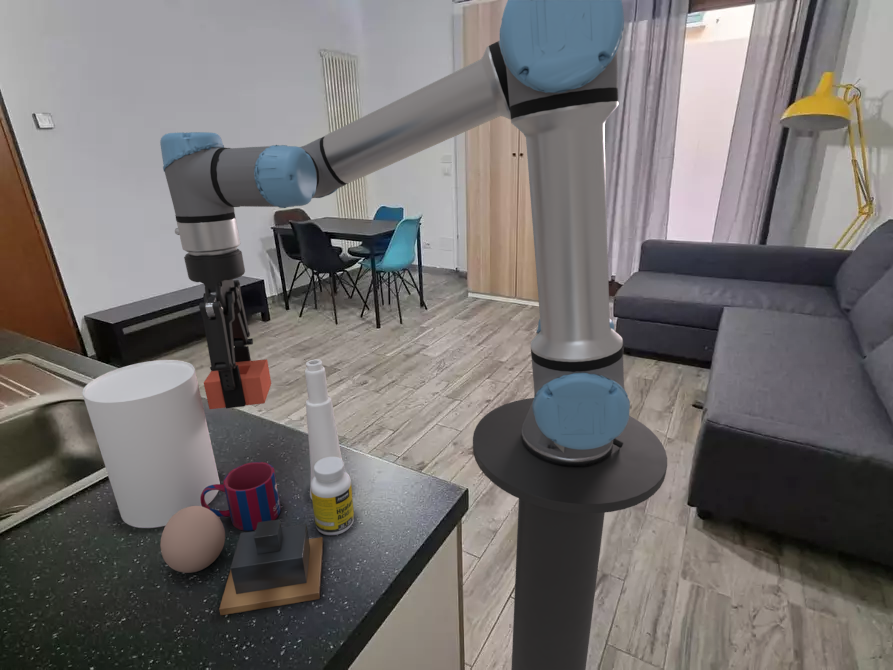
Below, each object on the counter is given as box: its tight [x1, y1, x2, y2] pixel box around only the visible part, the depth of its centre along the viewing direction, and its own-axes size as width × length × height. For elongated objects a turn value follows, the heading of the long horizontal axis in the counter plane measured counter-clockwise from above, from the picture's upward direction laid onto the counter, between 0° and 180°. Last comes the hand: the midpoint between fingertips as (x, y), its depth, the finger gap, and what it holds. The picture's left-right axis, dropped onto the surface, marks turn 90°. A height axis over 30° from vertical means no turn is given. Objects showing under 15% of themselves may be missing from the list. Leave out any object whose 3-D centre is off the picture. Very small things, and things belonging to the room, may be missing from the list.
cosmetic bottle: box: [304, 358, 343, 500], centre depth 71 cm, size 6×6×22 cm
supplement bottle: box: [310, 457, 355, 536], centre depth 67 cm, size 5×5×10 cm
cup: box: [200, 461, 282, 532], centre depth 69 cm, size 7×10×7 cm
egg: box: [159, 506, 226, 574], centre depth 61 cm, size 7×7×8 cm
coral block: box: [203, 358, 272, 410], centre depth 76 cm, size 8×7×4 cm
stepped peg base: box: [218, 518, 324, 616], centre depth 59 cm, size 11×9×8 cm
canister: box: [81, 359, 221, 529], centre depth 71 cm, size 14×14×20 cm
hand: (241, 394), depth 77 cm, fingers closed on coral block, 7 cm apart
